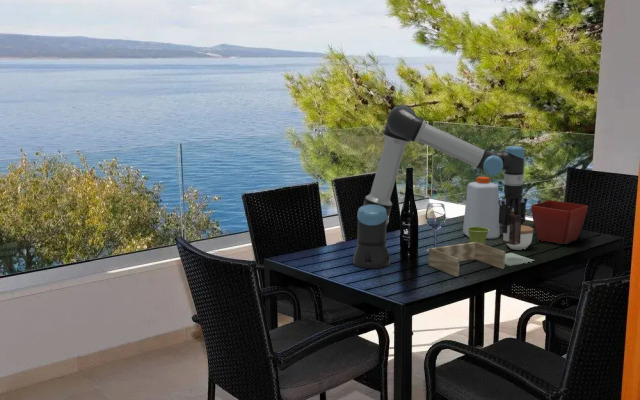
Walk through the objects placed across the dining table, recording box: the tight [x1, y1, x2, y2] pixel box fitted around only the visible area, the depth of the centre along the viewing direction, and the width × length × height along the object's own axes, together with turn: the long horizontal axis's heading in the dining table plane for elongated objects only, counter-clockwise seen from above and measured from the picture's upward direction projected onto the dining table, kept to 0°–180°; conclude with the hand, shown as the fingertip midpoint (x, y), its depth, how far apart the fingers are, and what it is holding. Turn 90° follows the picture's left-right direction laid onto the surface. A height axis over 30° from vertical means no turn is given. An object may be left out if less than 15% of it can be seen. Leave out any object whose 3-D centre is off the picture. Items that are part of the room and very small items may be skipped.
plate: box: [505, 252, 536, 267], centre depth 306 cm, size 14×14×1 cm
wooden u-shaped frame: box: [428, 242, 506, 277], centre depth 295 cm, size 24×18×7 cm
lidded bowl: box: [505, 224, 535, 251], centre depth 325 cm, size 13×13×11 cm
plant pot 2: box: [531, 199, 589, 243], centre depth 337 cm, size 19×19×17 cm
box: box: [502, 214, 522, 245], centre depth 304 cm, size 6×4×12 cm
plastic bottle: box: [462, 176, 501, 240], centre depth 347 cm, size 15×15×28 cm
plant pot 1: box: [467, 227, 489, 245], centre depth 325 cm, size 9×9×9 cm
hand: (511, 239), depth 305 cm, fingers closed on box, 5 cm apart
